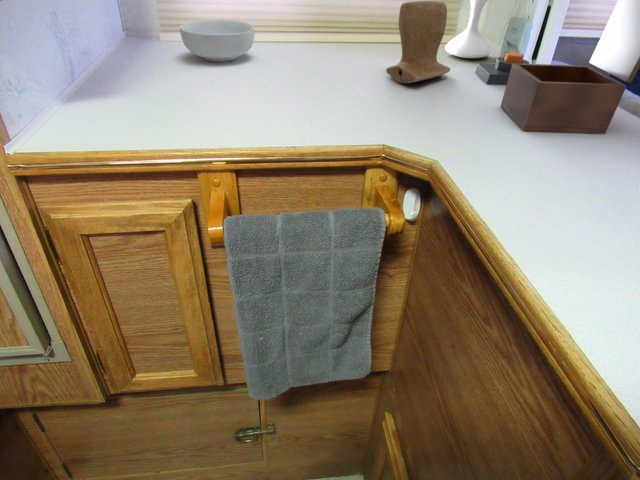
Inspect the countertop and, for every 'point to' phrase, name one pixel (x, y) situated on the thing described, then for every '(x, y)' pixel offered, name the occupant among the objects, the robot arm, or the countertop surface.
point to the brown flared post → (420, 41)
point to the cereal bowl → (218, 39)
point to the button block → (496, 71)
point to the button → (513, 57)
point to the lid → (620, 42)
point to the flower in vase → (470, 37)
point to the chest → (561, 98)
